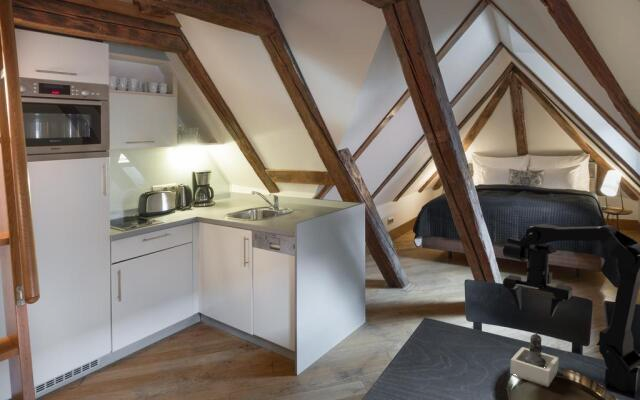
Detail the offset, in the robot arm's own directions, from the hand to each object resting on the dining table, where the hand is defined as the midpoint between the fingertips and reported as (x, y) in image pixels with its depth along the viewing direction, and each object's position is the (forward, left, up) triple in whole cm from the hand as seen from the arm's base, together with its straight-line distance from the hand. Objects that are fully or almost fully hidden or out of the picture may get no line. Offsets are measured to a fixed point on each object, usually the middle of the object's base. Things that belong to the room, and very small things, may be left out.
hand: (535, 313), depth 134 cm
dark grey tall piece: (-4, +13, -13) cm, 19 cm away
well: (-4, +13, -13) cm, 19 cm away
